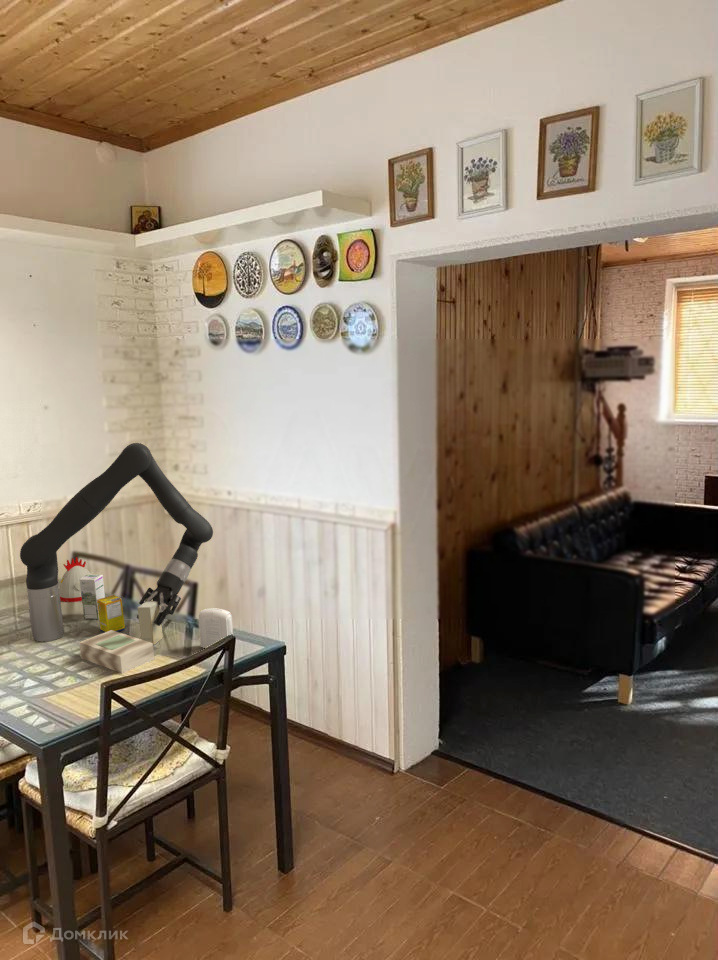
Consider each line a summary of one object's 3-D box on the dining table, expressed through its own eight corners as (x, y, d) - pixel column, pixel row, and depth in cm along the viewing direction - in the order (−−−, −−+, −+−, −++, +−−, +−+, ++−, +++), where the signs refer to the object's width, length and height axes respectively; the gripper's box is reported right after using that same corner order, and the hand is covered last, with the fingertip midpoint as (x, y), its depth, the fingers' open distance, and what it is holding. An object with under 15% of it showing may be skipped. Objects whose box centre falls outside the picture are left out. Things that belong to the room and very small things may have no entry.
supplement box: (117, 626, 239) (113, 594, 237) (125, 630, 235) (122, 598, 233) (99, 631, 235) (96, 599, 233) (108, 635, 231) (104, 603, 229)
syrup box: (107, 613, 251) (103, 573, 249) (98, 620, 245) (94, 579, 243) (92, 613, 252) (88, 573, 250) (83, 619, 246) (78, 578, 244)
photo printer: (236, 646, 217) (233, 607, 215) (229, 652, 213) (226, 612, 211) (205, 643, 220) (202, 605, 218) (198, 649, 216) (195, 610, 214)
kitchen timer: (53, 596, 273) (48, 558, 270) (89, 587, 282) (85, 550, 280) (67, 604, 263) (63, 565, 260) (104, 595, 272) (100, 556, 269)
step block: (81, 658, 214) (79, 641, 213) (113, 645, 222) (111, 629, 221) (122, 673, 202) (120, 655, 201) (154, 659, 211) (152, 642, 210)
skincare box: (153, 645, 221) (150, 607, 219) (140, 645, 222) (136, 607, 220) (163, 637, 227) (159, 600, 225) (150, 637, 228) (146, 600, 226)
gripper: (152, 567, 231) (125, 612, 224) (181, 573, 223) (154, 620, 216) (167, 578, 236) (141, 623, 229) (196, 585, 228) (170, 631, 221)
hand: (147, 622), depth 223 cm, fingers open, 8 cm apart
